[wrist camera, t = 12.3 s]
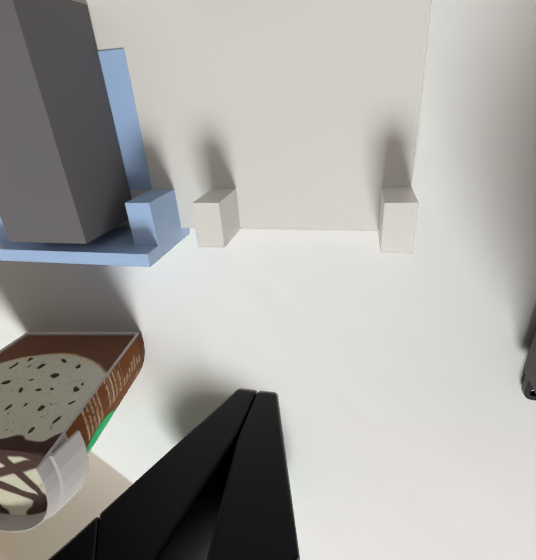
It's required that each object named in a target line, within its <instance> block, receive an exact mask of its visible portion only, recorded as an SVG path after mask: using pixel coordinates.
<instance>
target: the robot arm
mask: <svg viewBox="0 0 536 560" xmlns="http://www.w3.org/2000/svg"><path fill="white" fill-rule="evenodd" d="M523 371H524V373H525V377H524V380H523V383H522V387H521V389H522V391H523V393H524V395H525V397H526V398H528V399H530V400H536V332H535V334H534V337H533V341H532V344H531V347H530V350H529V353H528V356H527V359H526V363H525V366H524V369H523ZM533 389H534V390H535V391H531V390H533ZM48 560H300V556H299V548H298V541H297V534H296V526H295V519H294V512H293V504H292V497H291V490H290V482H289V475H288V468H287V460H286V453H285V446H284V438H283V431H282V424H281V416H280V409H279V402H278V395H277V393H275V392H267V391H259V392H257V391H256V390H250V389H238V390H236V391H235V392H234V393H233V394H232V395H231V396H230V397H229V398H228V399H226V400H225V401H224V402H223V403H222V404H221V405H220V406H219V407H218V408H217V409H215V410H214V411H213V412H212V413H211V414H210V415H209V416H208V417H207V418H205V419H204V420H203V421H202V422H201V423H200V424H199V425H198V426H197V427H196V428H194V429H193V430H192V431H191V432H190V433H189V434H188V435H187V436H186V437H184V438H183V439H182V440H181V441H180V442H179V443H178V444H177V445H176V446H175V447H173V448H172V449H171V450H170V451H169V452H168V453H167V454H166V455H165V456H163V457H162V458H161V459H160V460H159V461H158V462H157V463H156V464H155V465H154V466H152V467H151V468H150V469H149V470H148V471H147V472H146V473H145V474H144V475H142V476H141V477H140V478H139V479H138V480H137V481H136V482H135V483H134V484H133V485H132V486H130V487H129V488H128V489H127V490H126V491H125V492H124V493H123V494H121V495H120V496H119V497H118V498H117V499H116V500H115V501H114V502H113V503H111V504H110V505H109V506H108V507H107V508H106V509H105V510H104V511H103V512H102V513H101V514H100V518H99V517H96V518H95V519H94V520H92V521H91V523H89V524H88V525H87V526H86V527H85V528H84V529H83V530H81V532H79V533H78V534H77V535H76V536H75V537H74V538H72V539H71V540H70V541H69V542H68V543H67V544H66V545H64V546H63V547H62V548H61V549H60V550H59V551H57V552H56V553H55V554H54V555H53V556H52V557H51V558H50V559H48Z"/></svg>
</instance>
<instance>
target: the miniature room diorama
mask: <svg viewBox="0 0 536 560" xmlns="http://www.w3.org/2000/svg"><path fill="white" fill-rule="evenodd" d="M73 1H76V2H80V3H83V4H86V5H87V7H88V11H89V15H90V20H91V24H92V28H93V33H94V37H95V41H96V46H97V50H98V54H99V59H100V63H101V67H102V72H103V76H104V80H105V85H106V89H107V93H108V98H109V102H110V106H111V111H112V115H113V119H114V124H115V128H116V132H117V137H118V141H119V145H120V150H121V154H122V159H123V163H124V167H125V172H126V176H127V180H128V185H129V189H130V193H131V198H132V200H130V201H128V202H126V203H125V206H126V210H127V215H128V219H129V220H127V221H125V222H124V223H122V224H120V225H118V226H117V227H115V228H113V229H111V230H110V231H108V232H106V233H104V234H103V235H101V236H99V237H97V238H96V239H94V240H92V241H90V242H89V243H87V244H78V243H41V242H10V240H9V237H8V235H7V232H6V230H5V227H4V225H3V222H2V220H1V217H0V261H23V262H47V263H70V264H94V265H117V266H141V267H151V266H152V265H153V264H154V263H155V262H156V261H158V260H159V259H160V258H161V257H162V256H163V255H165V254H166V253H167V252H168V251H169V250H171V249H172V248H173V247H174V246H175V245H176V244H178V243H179V242H180V241H181V240H182V239H183V238H185V237H186V236H187V235H188V234H189V229H188V228H196V232H197V239H198V245H199V247H216V248H224V247H225V246H226V245H227V244H228V243H229V242H230V240H231V239H232V238H233V237H234V236H235V235H236V233H237V232H238V231H239V230H240V229H282V230H344V231H378V233H379V242H380V251H381V252H392V253H413V245H414V237H415V229H416V221H417V212H418V204H419V203H418V200H417V198H416V196H415V194H414V192H413V190H412V188H411V182H412V173H413V164H414V155H415V146H416V138H417V129H418V120H419V111H420V102H421V93H422V84H423V75H424V67H425V58H426V49H427V40H428V31H429V22H430V13H431V4H432V0H73Z"/></svg>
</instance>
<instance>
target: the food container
mask: <svg viewBox="0 0 536 560" xmlns="http://www.w3.org/2000/svg"><path fill="white" fill-rule="evenodd" d="M144 354H145V349H144V342H143V338H142V335H141V332H27V333H25V334H24V335H22V336H21V337H19V338H18V339H16V340H15V341H13V342H12V343H10V344H9V345H7V346H6V347H4V348H3V349H1V350H0V531H1V532H23V531H29V530H31V529H34V528H36V527H38V526H39V525H40V524H41V523H42V522H43V521H44V520H46V519H48V518H50V517H52V516H53V515H54V514H55V513H57V512H58V511H59V510H60V509H61V508H62V507H63V506H64V505H65V504H66V503H67V502H68V501H69V500H70V499H71V498H72V497H73V496H74V495H75V494H76V493H77V492H78V491H79V490H80V489H81V488H82V486H83V485H84V483H85V481H86V479H87V475H88V471H89V461H88V459H89V458H88V453H89V452H90V450H91V449H92V447H93V445H94V444H95V442H96V441H97V439H98V437H99V436H100V434H101V433H102V431H103V429H104V428H105V426H106V425H107V423H108V421H109V420H110V418H111V417H112V415H113V413H114V412H115V410H116V409H117V407H118V405H119V404H120V402H121V401H122V399H123V397H124V396H125V394H126V393H127V391H128V389H129V388H130V386H131V385H132V383H133V381H134V380H135V378H136V377H137V375H138V374H139V372H140V370H141V368H142V365H143V362H144Z"/></svg>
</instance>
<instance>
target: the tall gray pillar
mask: <svg viewBox="0 0 536 560" xmlns="http://www.w3.org/2000/svg"><path fill="white" fill-rule="evenodd" d="M130 200H132V198H131V193H130V189H129V185H128V180H127V176H126V172H125V167H124V163H123V159H122V154H121V150H120V145H119V141H118V137H117V132H116V128H115V124H114V119H113V115H112V111H111V106H110V102H109V98H108V93H107V89H106V85H105V80H104V76H103V72H102V67H101V63H100V59H99V54H98V50H97V46H96V41H95V37H94V33H93V28H92V24H91V20H90V15H89V11H88V7H87V5H86V4H83V3H80V2H76V1H73V0H0V217H1V220H2V222H3V225H4V227H5V230H6V232H7V235H8V237H9V240H10V242H41V243H78V244H87V243H89V242H90V241H92V240H94V239H96V238H97V237H99V236H101V235H103V234H104V233H106V232H108V231H110V230H111V229H113V228H115V227H117V226H118V225H120V224H122V223H124V222H125V221H127V220H129V219H128V215H127V210H126V206H125V203H126V202H128V201H130Z"/></svg>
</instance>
